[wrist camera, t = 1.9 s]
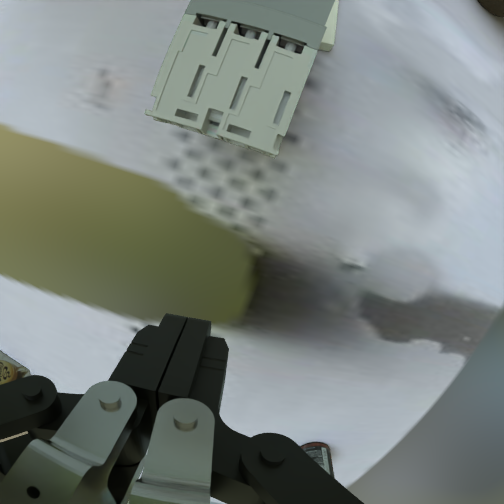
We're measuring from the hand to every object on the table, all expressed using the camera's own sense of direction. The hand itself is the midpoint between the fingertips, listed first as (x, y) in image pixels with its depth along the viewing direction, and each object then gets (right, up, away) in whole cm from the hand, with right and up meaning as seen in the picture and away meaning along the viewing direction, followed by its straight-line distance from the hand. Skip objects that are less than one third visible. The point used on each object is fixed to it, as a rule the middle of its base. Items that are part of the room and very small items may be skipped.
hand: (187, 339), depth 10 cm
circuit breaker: (+3, +20, +17) cm, 27 cm away
